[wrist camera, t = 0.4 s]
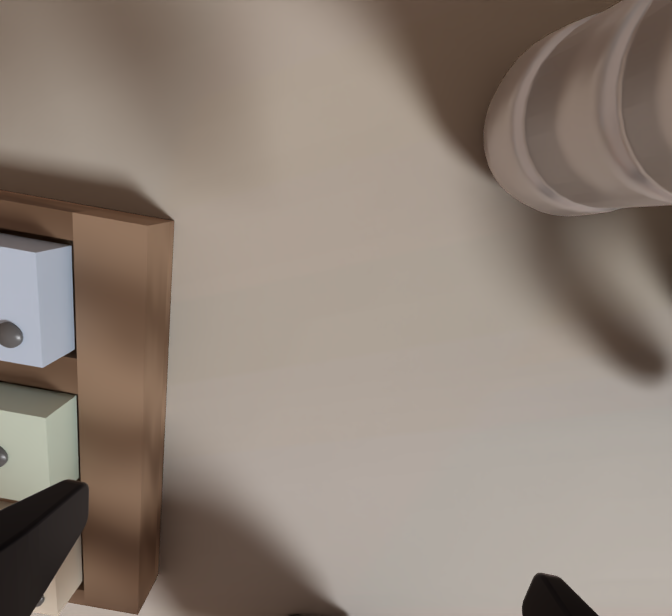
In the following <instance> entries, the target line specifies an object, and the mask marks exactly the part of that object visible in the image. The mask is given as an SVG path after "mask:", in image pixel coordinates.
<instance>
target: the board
mask: <svg viewBox="0 0 672 616" xmlns="http://www.w3.org/2000/svg"><path fill="white" fill-rule="evenodd" d="M0 233H4V234H10V235H15V236H21V237H26V238H32V239H38V240H43V241H49V242H55V243H60V244H66V245H71V247H72V278H73V308H74V339H75V350H73V351H71V352H70V353H68V354H66V355H64V356H63V357H61V358H59V359H57V360H56V361H54V362H52V363H50V364H49V365H47V366H45V367H43V368H41V367H35V366H29V365H24V364H18V363H12V362H7V361H1V360H0V382H4V383H9V384H15V385H21V386H26V387H32V388H37V389H43V390H49V391H54V392H60V393H66V394H71V395H76V400H77V431H78V461H79V478H78V479H77V480H76V481H81V482H85V483H87V484H88V486H89V515H88V520H87V523H86V525H85V528H84V529H83V531H82V533H81V553H82V582H81V584H80V585H79V587H78V588H77V589H76V591H75V592H74V594H73V595H72V597H71V598H70V600H69V601H68V602H69V603H75V604H80V605H86V606H92V607H97V608H103V609H109V610H114V611H120V612H126V613H131V614H137V615H138V613H139V611H140V609H141V608H142V606H143V604H144V602H145V600H146V598H147V596H148V594H149V592H150V590H151V588H152V586H153V584H154V582H155V580H156V578H157V576H158V568H159V546H160V524H161V502H162V480H163V458H164V436H165V414H166V391H167V369H168V347H169V325H170V303H171V281H172V259H173V237H174V221H172V220H166V219H160V218H155V217H149V216H144V215H138V214H132V213H127V212H121V211H116V210H110V209H104V208H99V207H93V206H88V205H82V204H76V203H71V202H65V201H60V200H54V199H48V198H43V197H37V196H32V195H26V194H20V193H15V192H9V191H3V190H0ZM0 501H3V502H9V503H16V502H18V501H16V500H10V499H5V498H0Z"/></svg>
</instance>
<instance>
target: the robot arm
mask: <svg viewBox="0 0 672 616" xmlns="http://www.w3.org/2000/svg"><path fill="white" fill-rule="evenodd" d="M88 515H89V486H88V484H87V483H85V482H81V481H76V480H71V479H66V480H63V481H60V482H58V483H56V484H54V485H52V486H50V487H48V488H46V489H44V490H42V491H39V492H37V493H35V494H33V495H31V496H29V497H27V498H25V499H23V500H21V501H18V502H16V503H14V504H12V505H10V506H8V507H6V508H4V509H2V510H0V616H30V615H31V614H32V612H33V610H34V609H35V607H36V606H37V604H38V603H39V601H40V600H41V598H42V596H43V595H44V593H45V591H46V590H47V588H48V587H49V585H50V583H51V582H52V580H53V578H54V577H55V575H56V574H57V572H58V570H59V569H60V567H61V565H62V564H63V562H64V560H65V559H66V557H67V556H68V554H69V552H70V551H71V549H72V547H73V546H74V544H75V543H76V541H77V539H78V538H79V536H80V534H81V533H82V531H83V529H84V528H85V525H86V523H87V520H88ZM522 615H523V616H598V615H597V614H596V613H595V612H594V611H593V610H592V609H591V608H590V607H589V606H588V605H587V604H586V603H585V602H584V601H583V600H582V599H581V598H580V597H579V596H578V595H577V594H576V593H575V592H574V591H573V590H572V589H571V588H570V587H569V586H568V585H567V584H566V583H565V582H564V581H563V580H562V579H561V578H559V577H557V576H554V575H550V574H545V573H537V574H536V575H535V576H534V577H533V580H532V582H531V584H530V587H529V589H528V591H527V593H526V596H525V598H524V600H523V605H522Z"/></svg>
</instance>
